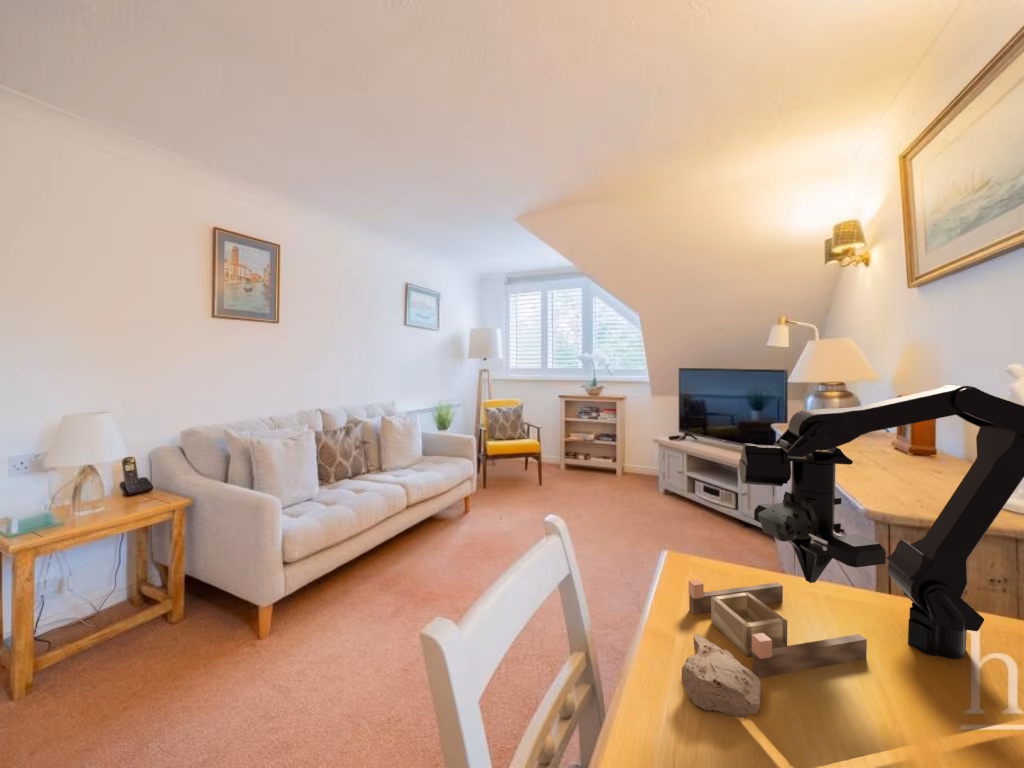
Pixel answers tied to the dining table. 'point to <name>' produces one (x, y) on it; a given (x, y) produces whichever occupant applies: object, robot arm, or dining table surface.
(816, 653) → the bay
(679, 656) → the dining table surface
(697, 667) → the stone
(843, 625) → the dining table surface
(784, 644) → the box
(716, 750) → the dining table surface
